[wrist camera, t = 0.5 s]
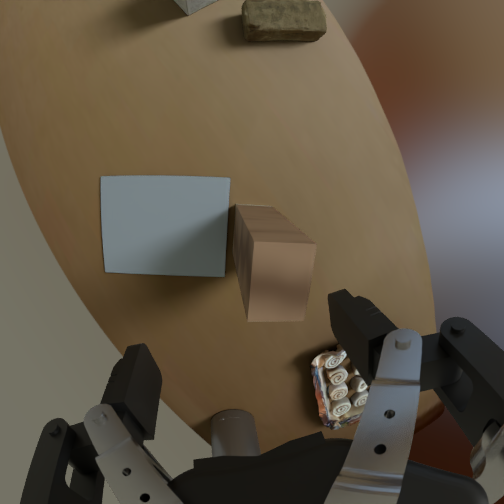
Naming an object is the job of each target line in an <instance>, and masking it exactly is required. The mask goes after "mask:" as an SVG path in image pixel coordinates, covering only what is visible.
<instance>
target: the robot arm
mask: <svg viewBox="0 0 504 504" xmlns="http://www.w3.org/2000/svg"><path fill="white" fill-rule="evenodd" d="M328 304H329V312H330V321H331V327H332V331H333V333H334V336H335V337H336V339H337V341H338V342H339V344H340V345H341V347H342V348H343V350H344V351H345V353H346V354H347V356H348V357H349V359H350V360H351V362H352V363H353V365H354V366H355V368H356V369H357V371H358V372H359V374H360V376H361V377H362V379H363V380H364V382H365V383H366V385H367V386H369V385H371V386H370V390H369V393H368V397H367V400H366V403H365V407H364V410H363V413H362V416H361V419H360V422H359V425H358V428H357V431H356V434H355V436H354V439H353V440H351V439H343V438H330V439H324V436H323V434H322V432H321V431H320V432H317V433H314V434H311V435H308V436H305V437H301V438H298V439H295V440H291V441H289V442H287V443H285V444H283V445H281V446H278V447H276V448H274V449H272V450H270V451H268V452H266V453H264V454H261V452H260V447H259V442H258V437H257V431H256V426H255V421H254V418H253V416H252V415H251V414H250V413H248V412H246V411H242V410H226V411H222V412H220V413H218V414H216V415H215V416H213V418H212V419H211V442H212V457H210V458H203V459H196V460H194V468H193V469H190V470H188V471H186V472H184V473H182V474H180V475H178V476H177V477H176V478H174V479H173V478H171V476H170V475H169V474H168V473H167V472H166V471H165V470H164V468H163V467H162V466H161V465H160V464H159V463H158V461H157V460H156V459H155V458H154V456H153V455H152V454H151V453H150V452H149V450H148V449H147V448H146V447H145V446H144V445H143V441H144V440H154V434H155V427H156V419H157V412H158V405H159V399H160V393H161V386H162V376H161V372H160V370H159V368H158V366H157V364H156V362H155V360H154V359H153V357H152V355H151V353H150V351H149V349H148V347H147V346H146V345H145V344H144V343H142V344H137V345H132V346H128V347H127V349H126V351H125V354H124V357H123V359H120V360H119V361H118V362H117V363H116V365H115V366H114V367H113V370H112V373H111V377H110V378H109V381H108V384H107V386H106V389H105V392H104V394H103V397H102V400H101V403H100V404H99V405H96V406H94V407H92V408H91V409H90V410H89V411H88V412H87V413H86V415H85V417H84V422H81V423H78V424H75V425H71V426H69V424H68V423H67V422H66V421H65V420H64V419H61V418H56V419H53V420H51V421H50V422H48V423H47V424H46V425H45V427H44V429H43V431H42V433H41V436H40V439H39V441H38V444H37V447H36V450H35V453H34V456H33V459H32V462H31V465H30V468H29V472H28V475H27V479H26V482H25V486H24V489H23V493H22V498H21V502H20V504H102V496H103V487H104V480H105V479H106V481H107V483H108V484H109V486H110V488H111V489H112V491H113V493H114V495H115V496H116V498H117V499H118V501H119V503H120V504H493V503H495V502H496V501H497V500H499V499H500V498H501V497H502V496H503V495H504V351H503V350H502V349H500V348H499V347H498V346H497V345H496V344H495V343H494V342H493V341H492V340H491V339H490V338H489V337H487V336H486V335H485V334H484V333H483V332H482V331H481V330H479V329H478V328H477V327H476V326H475V325H474V324H473V323H471V322H470V321H469V320H467V319H464V318H460V317H453V318H449V319H447V320H445V321H444V322H443V323H442V325H441V328H440V332H439V333H435V334H430V335H426V336H420V334H419V333H417V332H416V331H414V330H411V329H398V328H397V327H396V326H395V325H394V324H393V323H392V322H391V321H390V320H389V319H388V318H387V317H386V316H385V315H384V314H383V313H382V312H381V311H380V310H379V309H378V308H377V307H375V305H374V304H373V303H372V302H371V301H370V300H368V299H366V298H363V297H361V296H357V297H353V296H352V295H351V294H350V293H349V292H348V291H347V290H346V289H342V290H339V291H336V292H333V293H330V294H328ZM430 389H433V390H434V391H435V392H436V394H437V395H438V396H439V398H440V399H441V401H442V402H443V403H444V405H445V406H446V407H447V409H448V410H449V412H450V413H451V415H452V416H453V417H454V419H455V420H456V422H457V423H458V425H459V426H460V428H461V429H462V430H463V432H464V433H465V435H466V436H467V438H468V439H469V441H470V442H471V444H472V445H473V447H474V448H473V450H472V452H471V455H470V463H471V466H472V469H473V479H472V478H470V477H467V476H464V475H460V474H456V473H452V472H448V471H444V470H441V469H437V468H434V467H430V466H427V465H423V464H420V463H417V462H414V461H411V460H408V456H409V451H410V447H411V442H412V437H413V432H414V427H415V421H416V415H417V408H418V401H419V393H420V392H421V391H425V390H430ZM68 464H69V465H70V466H71V467H73V468H74V469H73V473H72V478H71V483H70V488H69V487H68V486H67V484H66V481H65V474H66V469H67V466H68Z"/></svg>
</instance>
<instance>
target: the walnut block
mask: <svg viewBox="0 0 504 504" xmlns="http://www.w3.org/2000/svg"><path fill="white" fill-rule="evenodd" d="M316 247H317V244H316V243H315V242H314V241H313V240H312V239H310V238H309V237H308V236H307V235H306V234H305V233H303V232H302V231H301V230H300V229H299V228H298V227H296V226H295V225H294V224H293V223H292V222H290V221H289V220H288V219H287V218H286V217H285V216H283V215H282V214H281V213H280V212H278V211H277V210H276V209H275V208H274V207H272V206H261V205H243V204H236V209H235V224H234V239H233V257H234V262H235V267H236V272H237V276H238V281H239V286H240V290H241V295H242V299H243V304H244V308H245V313H246V317H247V322H277V321H304V319H305V313H306V308H307V302H308V297H309V291H310V285H311V279H312V273H313V267H314V260H315V254H316Z"/></svg>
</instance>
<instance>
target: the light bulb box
mask: <svg viewBox="0 0 504 504" xmlns="http://www.w3.org/2000/svg"><path fill="white" fill-rule="evenodd" d="M174 1H175V2H176V3H177V4H178V5H179V7H180V8H181V9H182V10H183V11H184V12H185V13H186V14H187V15H188V16H189V15H190V14H192V13H194V12H196V11H198V10H200V9H201V8H203V7H205V6H207V5H209V4H211V3H213V2H215V1H217V0H174Z"/></svg>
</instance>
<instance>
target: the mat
mask: <svg viewBox="0 0 504 504" xmlns="http://www.w3.org/2000/svg"><path fill="white" fill-rule="evenodd" d="M229 191H230V178H225V177H202V176H101V221H102V239H103V252H104V263H105V272H112V273H131V274H153V275H178V276H208V277H225V259H226V240H227V222H228V206H229Z"/></svg>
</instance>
